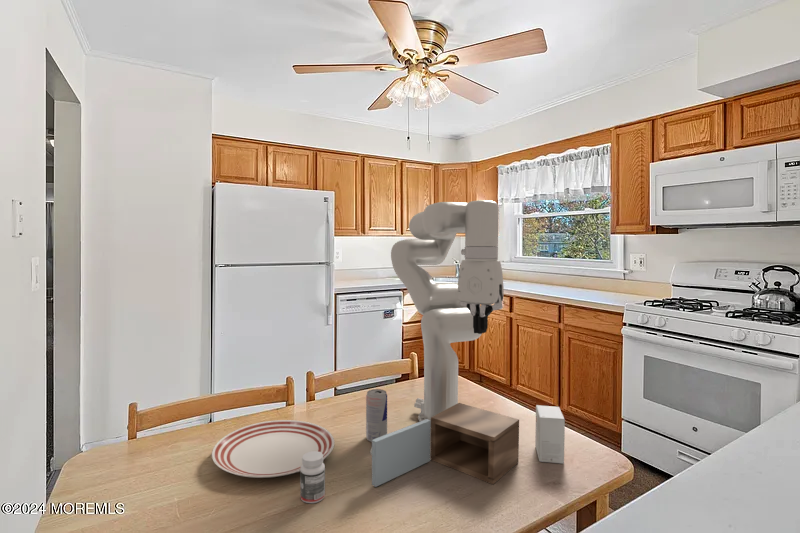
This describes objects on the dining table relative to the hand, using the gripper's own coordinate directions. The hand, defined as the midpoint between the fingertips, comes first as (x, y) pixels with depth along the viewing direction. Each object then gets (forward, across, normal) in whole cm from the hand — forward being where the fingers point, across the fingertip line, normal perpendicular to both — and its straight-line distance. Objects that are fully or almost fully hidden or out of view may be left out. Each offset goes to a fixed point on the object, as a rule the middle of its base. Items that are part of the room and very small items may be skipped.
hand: (480, 332), depth 102 cm
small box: (+29, +13, +10) cm, 34 cm away
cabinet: (+29, +1, -4) cm, 29 cm away
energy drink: (+29, -24, -10) cm, 39 cm away
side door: (+29, -9, -19) cm, 35 cm away
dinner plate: (+30, -36, -32) cm, 56 cm away
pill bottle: (+29, -16, -37) cm, 50 cm away
